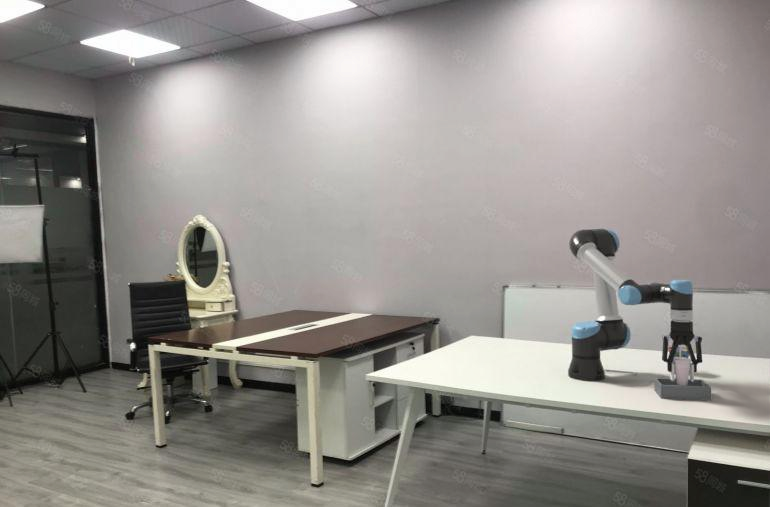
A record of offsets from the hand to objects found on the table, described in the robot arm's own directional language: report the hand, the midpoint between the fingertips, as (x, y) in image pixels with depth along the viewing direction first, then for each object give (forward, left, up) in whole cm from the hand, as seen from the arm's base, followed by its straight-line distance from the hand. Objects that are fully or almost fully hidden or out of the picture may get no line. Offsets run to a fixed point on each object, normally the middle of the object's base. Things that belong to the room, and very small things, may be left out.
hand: (682, 380), depth 213 cm
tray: (0, 0, -6) cm, 6 cm away
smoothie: (0, 0, -2) cm, 2 cm away
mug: (+9, +37, -6) cm, 38 cm away
